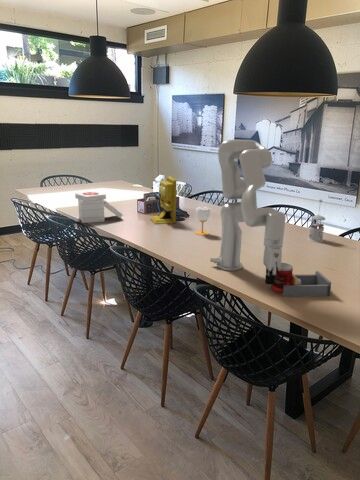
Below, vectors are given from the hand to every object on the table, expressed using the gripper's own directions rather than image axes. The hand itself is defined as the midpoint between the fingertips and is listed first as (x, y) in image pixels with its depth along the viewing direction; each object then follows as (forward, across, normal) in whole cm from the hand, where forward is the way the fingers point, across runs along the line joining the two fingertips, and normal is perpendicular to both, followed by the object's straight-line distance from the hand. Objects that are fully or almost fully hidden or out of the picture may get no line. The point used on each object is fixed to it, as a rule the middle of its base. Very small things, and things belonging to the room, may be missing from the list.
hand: (269, 283), depth 164 cm
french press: (+3, +73, -52) cm, 89 cm away
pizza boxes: (+3, +122, +84) cm, 148 cm away
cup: (+3, +86, +17) cm, 88 cm away
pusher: (+3, 0, -11) cm, 12 cm away
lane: (+3, 0, -14) cm, 15 cm away
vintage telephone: (+3, +118, +41) cm, 125 cm away
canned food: (+3, 0, -5) cm, 6 cm away
